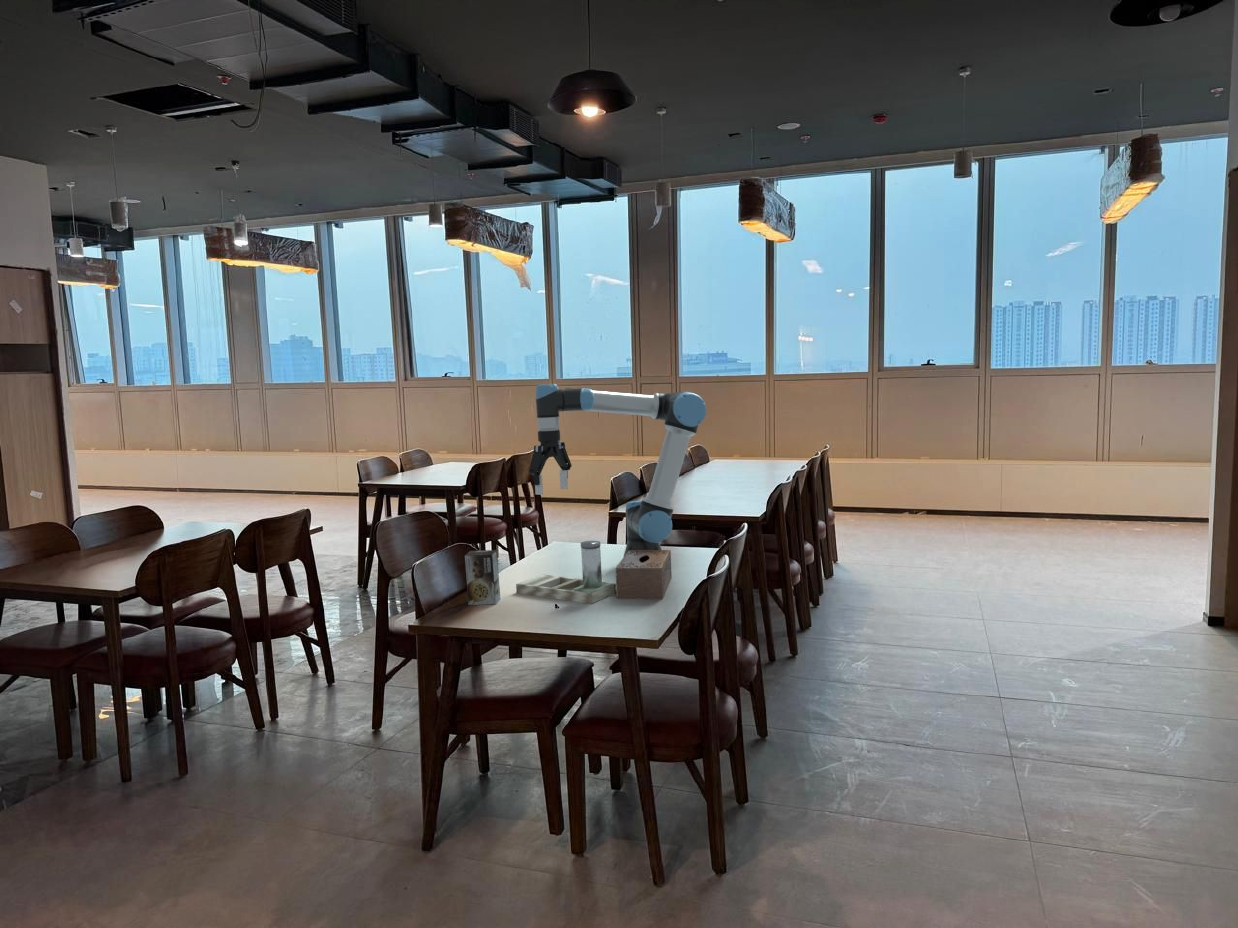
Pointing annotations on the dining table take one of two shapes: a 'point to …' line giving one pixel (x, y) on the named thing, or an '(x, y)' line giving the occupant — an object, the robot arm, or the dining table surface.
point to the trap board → (564, 589)
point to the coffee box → (482, 577)
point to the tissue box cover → (643, 574)
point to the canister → (591, 564)
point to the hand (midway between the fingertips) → (552, 491)
